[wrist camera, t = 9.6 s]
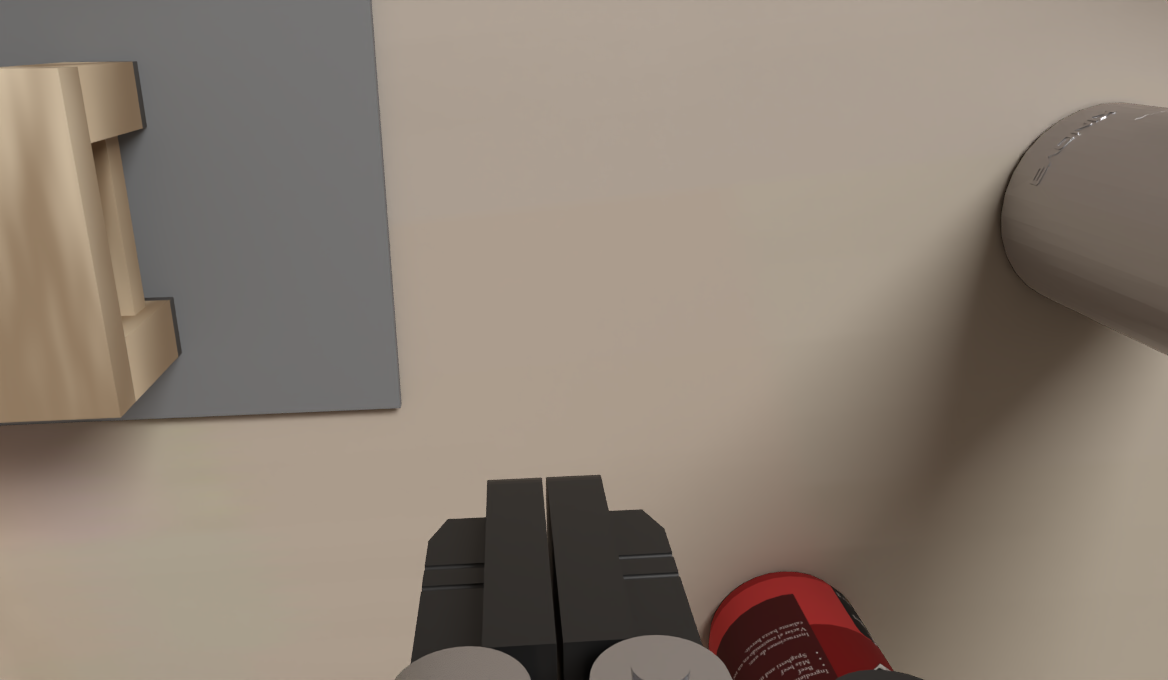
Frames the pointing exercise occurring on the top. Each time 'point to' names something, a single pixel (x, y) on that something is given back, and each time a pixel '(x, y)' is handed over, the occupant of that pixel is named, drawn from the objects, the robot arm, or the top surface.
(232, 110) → the mat
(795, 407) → the top surface
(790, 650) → the canned food
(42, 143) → the stool
